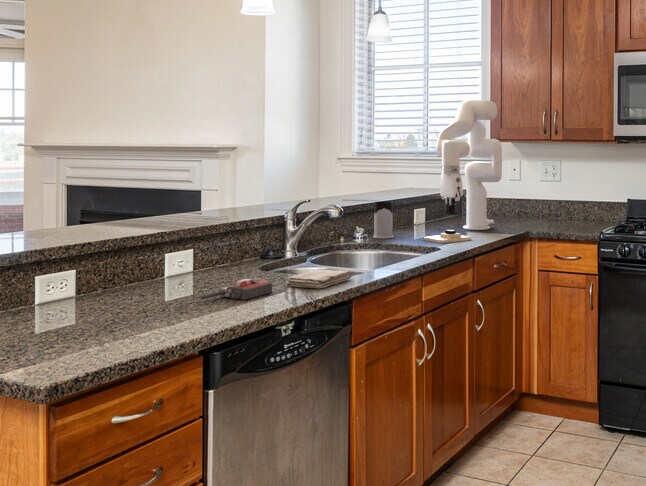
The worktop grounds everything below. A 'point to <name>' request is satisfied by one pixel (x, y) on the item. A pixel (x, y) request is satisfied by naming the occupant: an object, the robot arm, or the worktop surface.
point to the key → (450, 231)
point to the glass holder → (383, 220)
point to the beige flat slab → (447, 238)
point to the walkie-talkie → (244, 289)
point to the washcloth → (318, 278)
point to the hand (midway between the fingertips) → (450, 214)
